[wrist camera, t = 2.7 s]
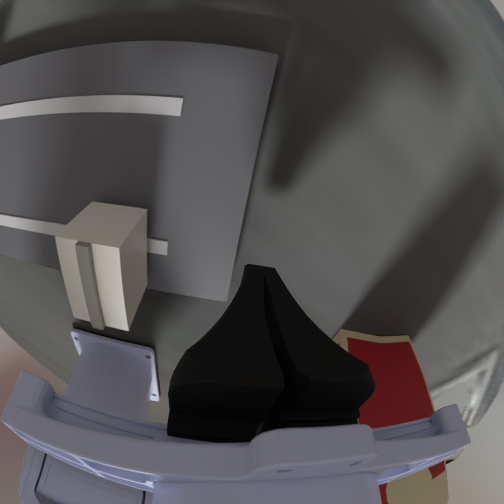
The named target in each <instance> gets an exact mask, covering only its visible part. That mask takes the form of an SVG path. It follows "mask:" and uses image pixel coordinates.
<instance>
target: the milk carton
mask: <svg viewBox="0 0 504 504" xmlns="http://www.w3.org/2000/svg"><path fill="white" fill-rule="evenodd" d="M332 340H333V341H334V342H335V343H337V344H338V345H339V346H340V347H342V348H343V349H345V350H346V351H347V352H349V353H350V354H352V355H353V356H355V357H357V358H358V359H360V360H362V361H363V362H365V363H367V364H368V365H369V367H370V370H371V372H372V375H373V378H374V382H375V385H376V388H375V391H374V393H373V394H372V395H371V397H370V398H369V399H368V400H367V401H366V402H365V403H364V404H363V405H362V406H361V407H360V408H359V411H360V417H359V418H358V419H357V420H358V424H366V425H368V426H370V427H371V428H372V429H374V428H380V427H386V426H392V425H397V424H402V423H407V422H411V421H415V420H420V419H424V418H428V417H431V415H432V414H433V413H434V412H435V410H434V406H433V402H432V398H431V395H430V391H429V388H428V385H427V382H426V378H425V375H424V373H423V370H422V368H421V365H420V362H419V360H418V357H417V355H416V352H415V350H414V348H413V345H412V343H411V341H410V338H409V336H408V335H402V336H374V335H369V334H364V333H359V332H354V331H350V330H345V329H340V330H339V332H338V333H337V334H336V336H335V337H334V338H333V339H332ZM379 491H380V496H381V502H382V504H447V502H448V484H447V473H446V464H445V460H443V461H441V462H440V463H438V464H435V465H433V466H431V467H428V468H426V469H423V470H420V471H418V472H415V473H413V474H410V475H407V476H404V477H402V478H399V479H396V480H393V481H390V482H387V483H384V484H380V485H379Z"/></svg>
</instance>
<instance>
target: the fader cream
mask: <svg viewBox="0 0 504 504" xmlns="http://www.w3.org/2000/svg"><path fill="white" fill-rule="evenodd" d="M55 240H56V246H57V251H58V256H59V261H60V266H61V270H62V275H63V279H64V283H65V287H66V291H67V295H68V298H69V302H70V305H71V309H72V312H73V316H74V318H78V319H82V320H85V321H89V322H91V324H92V328H96V329H100V330H104V328H105V326H108V327H112V328H117V329H121V330H125V331H129V329H130V326H131V324H132V321H133V319H134V316H135V314H136V311H137V309H138V306H139V304H140V301H141V299H142V296H143V294H144V292H145V289H146V287H147V209H144V208H137V207H130V206H122V205H115V204H107V203H99V202H91V203H90V204H89V205H88V206H87V207H86V208H85V209H83V210H82V211H81V212H80V213H79V214H78V215H77V216H76V217H75V218H74V219H72V220H71V221H70V222H69V223H68V224H67V225H66V226H65V227H64V228H63V229H62V230H61V231H60V232H59V233H58V234H57V235H56V236H55Z"/></svg>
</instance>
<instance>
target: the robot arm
mask: <svg viewBox="0 0 504 504" xmlns="http://www.w3.org/2000/svg"><path fill="white" fill-rule="evenodd" d="M71 335H72V338H73V341H74V343H75V346H76V348H77V351H78V353H79V358H78V361H77V363H76V365H75V368H74V370H73V372H72V375H71V377H70V380H69V382H68V384H67V387H66V390H65V392H64V395H61V394H59V393H56V392H55V391H54V389H53V387H52V385H51V384H49V382H47V381H46V380H44V379H43V378H40V377H38V376H36V375H34V374H31V373H29V372H27V371H25V370H22V372H21V373H20V376H19V378H18V380H17V382H16V384H15V386H14V388H13V390H12V393H11V395H10V397H9V400H8V402H7V405H6V407H5V409H4V412H3V414H2V417H1V421H2V422H3V423H4V424H6V425H7V426H8V427H9V428H10V429H11V430H12V431H13V432H15V433H16V434H17V435H18V436H20V437H21V438H22V439H23V440H25V441H26V442H27V443H28V447H27V450H26V453H25V457H24V461H23V465H22V469H21V475H20V483H19V491H18V495H19V497H20V498H21V504H382V502H381V496H380V491H379V485H380V484H384V483H387V482H390V481H393V480H396V479H399V478H402V477H404V476H407V475H410V474H413V473H415V472H418V471H420V470H423V469H426V468H428V467H431V466H433V465H435V464H438V463H440V462H441V461H443V460H445V459H447V458H448V457H450V456H451V455H453V454H455V453H456V452H458V451H460V450H461V449H463V448H464V447H466V446H467V445H469V444H470V443H471V440H470V438H469V435H468V432H467V429H466V427H465V424H464V421H463V419H462V416H461V414H460V411H459V409H458V406H457V404H453V405H449V406H446V407H443V408H441V409H439V410H437V411H436V412H434V413H433V414H432V415H431V417H428V418H424V419H420V420H415V421H411V422H407V423H402V424H397V425H392V426H386V427H380V428H374V429H372V428H371V427H370V426H368V425H366V424H358V420H357V419H358V418H359V417H360V411H359V408H360V407H361V406H362V405H363V404H364V403H365V402H366V401H367V400H368V399H369V398H370V397H371V395H372V394H373V393H374V391H375V388H376V385H375V382H374V378H373V375H372V372H371V370H370V367H369V365H368V364H367V363H365V362H363V361H362V360H360V359H358V358H357V357H355V356H353V355H352V354H350V353H349V352H347V351H346V350H345V349H343V348H342V347H340V346H339V345H338V344H337V343H335V342H334V341H333V340H332V339H330V338H329V337H328V336H327V335H326V334H325V333H324V332H323V331H321V330H320V329H319V328H318V327H317V326H316V325H315V324H314V322H313V321H312V320H311V319H310V318H309V317H308V316H307V315H306V314H305V312H304V311H303V310H302V309H301V307H300V306H299V305H298V304H297V302H296V301H295V299H294V298H293V296H292V295H291V293H290V292H289V291H288V289H287V287H286V286H285V284H284V283H283V281H282V279H281V278H280V276H279V274H278V273H277V271H276V269H275V268H272V267H265V266H259V265H252V264H247V265H245V268H244V272H243V277H242V281H241V285H240V287H239V289H238V291H237V293H236V295H235V297H234V299H233V300H232V302H231V304H230V305H229V307H228V308H227V310H226V311H225V313H224V314H223V315H222V317H221V318H220V319H219V320H218V321H217V323H216V324H215V325H214V326H213V327H212V328H211V329H210V330H209V331H208V332H207V333H206V334H205V335H204V336H203V337H202V338H201V339H200V340H199V341H198V342H196V343H195V344H194V345H193V346H191V347H190V348H189V349H188V350H186V351H185V353H184V355H183V356H182V358H181V359H180V361H179V363H178V365H177V366H176V368H175V370H174V372H173V375H172V377H171V381H170V386H169V392H168V398H169V408H170V411H169V418H168V424H167V425H166V424H161V423H156V422H151V421H146V417H147V412H148V407H149V403H150V400H153V401H159V400H160V394H159V387H158V379H157V371H156V362H155V352H154V350H153V349H152V348H150V347H146V346H141V345H137V344H132V343H128V342H124V341H119V340H115V339H111V338H107V337H103V336H100V335H96V334H92V333H89V332H85V331H82V330H78V329H72V331H71Z"/></svg>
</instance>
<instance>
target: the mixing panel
mask: <svg viewBox="0 0 504 504" xmlns="http://www.w3.org/2000/svg"><path fill="white" fill-rule="evenodd" d="M278 57H279V54H274V53H269V52H264V51H259V50H254V49H248V48H242V47H235V46H228V45H220V44H210V43H199V42H184V41H128V42H113V43H103V44H94V45H86V46H79V47H73V48H67V49H62V50H57V51H52V52H47V53H43V54H39V55H35V56H31V57H27V58H24V59H20V60H17V61H14V62H11V63H7V64H4V65H1V66H0V254H1V255H5V256H8V257H12V258H15V259H19V260H23V261H27V262H30V263H34V264H38V265H42V266H46V267H50V268H54V269H58V270H61V266H60V261H59V256H58V251H57V246H56V240H55V236H56V235H57V234H58V233H59V232H60V231H61V230H62V229H63V228H64V227H65V226H66V225H67V224H68V223H69V222H70V221H71V220H72V219H74V218H75V217H76V216H77V215H78V214H79V213H80V212H81V211H82V210H83V209H85V208H86V207H87V206H88V205H89V204H90V203H91V202H99V203H107V204H115V205H122V206H130V207H137V208H144V209H147V287H146V289H152V290H157V291H163V292H168V293H174V294H180V295H186V296H192V297H198V298H204V299H211V300H218V301H224V302H227V297H228V292H229V287H230V282H231V277H232V271H233V266H234V261H235V256H236V251H237V246H238V241H239V236H240V231H241V227H242V222H243V217H244V212H245V207H246V202H247V197H248V193H249V188H250V183H251V178H252V174H253V169H254V164H255V160H256V155H257V150H258V146H259V141H260V137H261V132H262V127H263V123H264V118H265V114H266V109H267V105H268V100H269V96H270V92H271V87H272V83H273V78H274V74H275V70H276V65H277V61H278Z"/></svg>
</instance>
